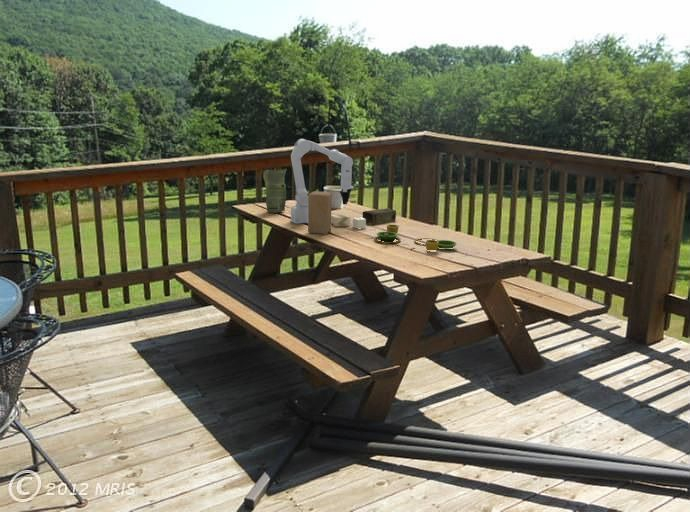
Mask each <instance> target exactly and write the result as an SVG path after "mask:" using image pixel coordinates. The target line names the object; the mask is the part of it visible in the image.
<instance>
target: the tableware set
mask: <svg viewBox="0 0 690 512" xmlns="http://www.w3.org/2000/svg"><path fill="white" fill-rule="evenodd" d="M399 227H400V226H399V224H387V225H386V231H379V232H377V233H376V235H375V236H374V235H373V236H367V238H371V239H374V241H375V242H376V241H377V243H378V242H380V243H379V244H383V243H395V244H398V242H399V243H400V242H401V241H402V240H401V238H399V237H398V232H399ZM372 237H375V238H372ZM377 239H378V240H381V241H378V240H377ZM395 239H396V240H398V241H396V242H393V241H394V240H395ZM422 239H432V240H427V241H426V244H425V245H426V246H425V248H426V249H427V250H437V251H438V247H439V248H453V247H454V248H455V246H456V245H457V242H455V241H454V240H453V241H452V240H446V239H440V240H439V239H436V238H429V237H428V238H427V237H422V238H421V237H420V238H416V239H414V240H413V242H414V244H416V243H417V245H419V244H421V243H418V242H416V241H418V240H422ZM435 240H437V241H435ZM382 241H384V242H382ZM454 248H453V249H454ZM427 250H426V251H427Z"/></svg>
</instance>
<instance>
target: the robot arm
mask: <svg viewBox="0 0 690 512" xmlns="http://www.w3.org/2000/svg"><path fill="white" fill-rule="evenodd" d="M310 151H313V152H314V151H316V152H319V153H321V154H324V155H325V156H328V159H329V160H330V161H333V162H335V163H337V164H338V165H339V164H340V165H341V170H340V171H341V172H340V191H339V194H340V196H341V199H342V200H341V201H342V202H341V203H342V205H347V204H348V202H349V199H350V195H351V191H352V189H354V186H353V185H352V176H353V175H352V173H353V168H352V166H353V165H354V160H353V158H352V157H351V156H349V155H347V154H346V153H342V152H340V151H339V149H334V148H333V149H329V148H326V147H325V146H323V145H320V144H319V143H316V142H314V141H311V140H307V139H305V138H299V139H298V140H296V142H295V143H294V146H293V148H292V152H291V154H290V160H291V165H292V166H291V167H292V171H293V178H294V183H295V197H294V198H295V199H294V200H295V201H296V203H295V205H294V206H291V207H290V222H291V223H294V224H299V225H300V224H308V195H309V194H308V191H307V189H306V184H305V177H304V172H303V166H302V161H301V160H302V158H303V156H304V155H305V154H306V153H309V152H310Z"/></svg>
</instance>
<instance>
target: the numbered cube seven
mask: <svg viewBox="0 0 690 512" xmlns="http://www.w3.org/2000/svg"><path fill="white" fill-rule="evenodd" d="M362 217H363V216H360V217H352V228H354V227H355V228H354V229H356V228H363V229H367V228H366V226H367V223H366V219H364V218H362Z"/></svg>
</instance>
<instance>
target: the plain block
mask: <svg viewBox="0 0 690 512" xmlns="http://www.w3.org/2000/svg"><path fill="white" fill-rule="evenodd" d="M332 224H333V225H332ZM331 225H332V226H334V225H335V226H334V227H336V226H341V227H350V226H351V216H349V215H347V214H344V213H342V214H341V213H340V214H339V213H338V214H331Z"/></svg>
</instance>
